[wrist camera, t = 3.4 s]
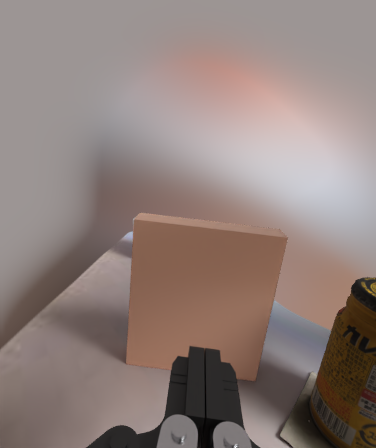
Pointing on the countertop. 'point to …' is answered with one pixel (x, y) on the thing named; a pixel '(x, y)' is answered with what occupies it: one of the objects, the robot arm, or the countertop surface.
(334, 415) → the condiment
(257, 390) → the countertop surface
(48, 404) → the countertop surface
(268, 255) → the tile
